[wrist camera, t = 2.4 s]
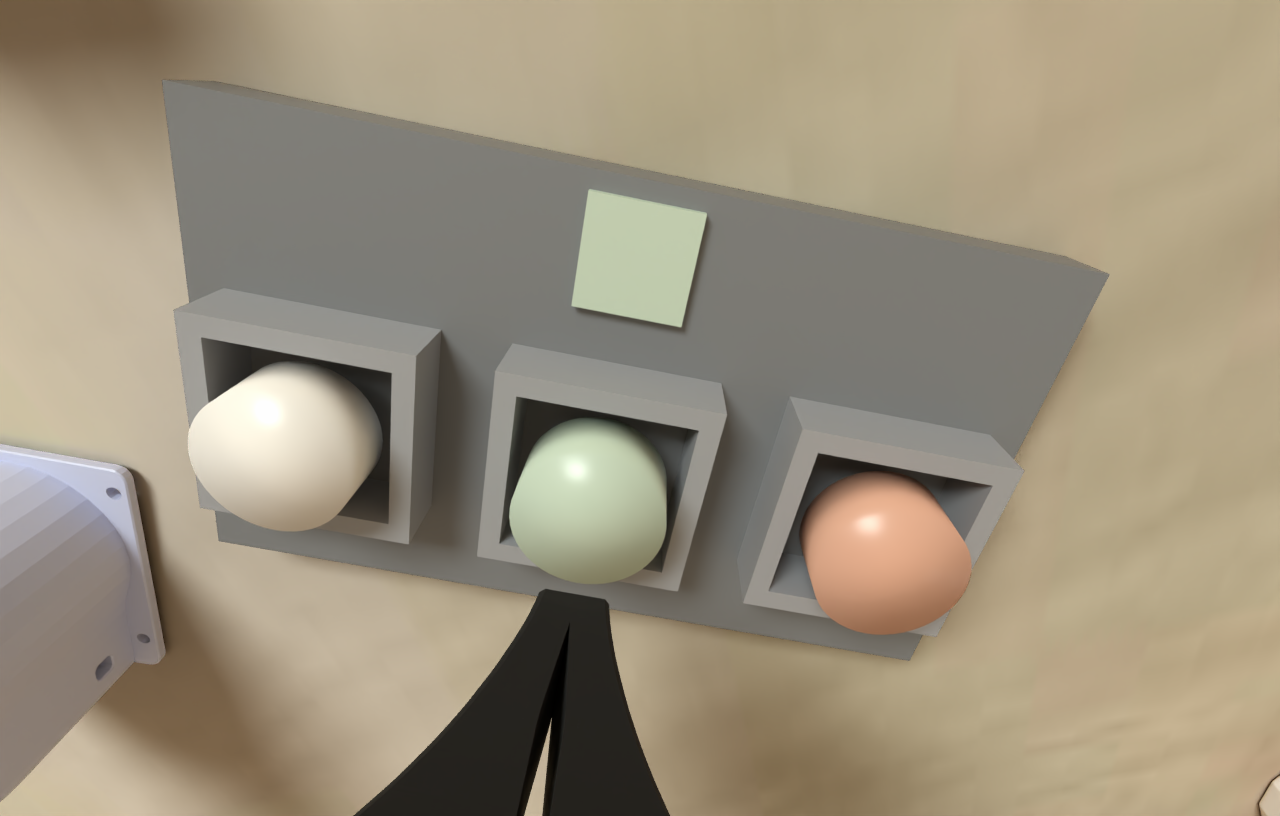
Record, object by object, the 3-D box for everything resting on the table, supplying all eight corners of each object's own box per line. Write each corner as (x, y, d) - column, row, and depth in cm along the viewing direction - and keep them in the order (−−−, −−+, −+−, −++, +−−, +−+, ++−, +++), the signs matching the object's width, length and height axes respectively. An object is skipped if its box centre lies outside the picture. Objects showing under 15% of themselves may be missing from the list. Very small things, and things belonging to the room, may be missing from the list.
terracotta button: (910, 595, 20) (935, 645, 18) (782, 571, 19) (794, 620, 18) (964, 485, 18) (997, 529, 16) (823, 459, 18) (841, 500, 16)
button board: (891, 619, 24) (930, 709, 21) (253, 506, 23) (177, 581, 20) (1066, 256, 18) (1163, 296, 15) (214, 81, 17) (95, 77, 14)
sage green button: (651, 548, 19) (649, 595, 17) (518, 524, 19) (502, 570, 17) (680, 432, 17) (681, 470, 16) (533, 404, 17) (517, 440, 15)
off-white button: (381, 500, 19) (351, 543, 17) (243, 476, 19) (197, 516, 17) (383, 376, 17) (349, 409, 15) (230, 347, 17) (177, 377, 15)
